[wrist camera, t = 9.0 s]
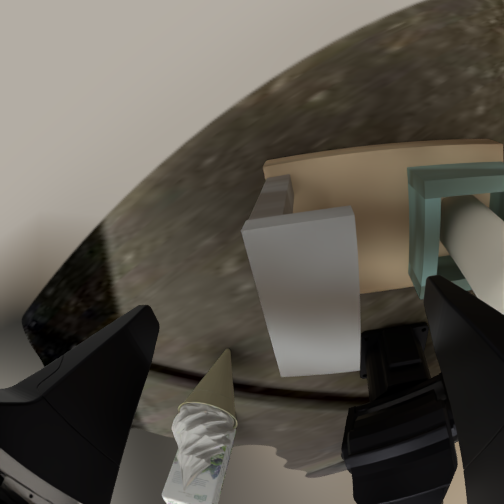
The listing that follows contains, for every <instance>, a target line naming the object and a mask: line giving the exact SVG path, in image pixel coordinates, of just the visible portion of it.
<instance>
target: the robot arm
mask: <svg viewBox="0 0 504 504" xmlns="http://www.w3.org/2000/svg"><path fill="white" fill-rule="evenodd" d="M424 307H425V311H426V315H427V319H428V323H429V327H430V332H431V336H432V341H433V345H434V349H435V353H436V356H437V359H438V362H439V365H440V369H441V373H439V375H437V376H435V377H433V378H431V376H430V372H429V369H428V365H427V362H426V359H425V356H424V349H425V345H426V340H427V335H428V330H429V327H428V325H427V323H420V324H414V325H409V326H403V327H396V328H390V329H383V330H376V331H369V332H364V333H362V335H361V354H360V377H361V378H363V379H365V378H367V380H368V389H369V398H370V402H369V403H366V404H363V405H360V406H357V407H356V406H354V407H351V408H349V411H348V416H347V420H346V426H345V432H344V437H343V443H342V453H341V457H342V459H343V460H344V461H345V464H346V467H347V469H348V471H349V472H350V473H351V474H352V479H353V497H354V500H355V501H356V503H357V504H443V499H444V497H445V495H446V493H447V490H448V488H449V486H450V484H451V481H452V479H453V476H454V474H455V471H456V469H457V465H458V464H457V454H456V449H455V444H454V443H456V442H458V441H459V446H460V451H461V457H462V462H463V469H465V470H464V478H465V486H466V496H467V504H504V315H503V314H502V313H500V312H499V311H497V310H496V309H494V308H493V307H491V306H490V305H488V304H487V303H485V302H483V301H482V300H480V299H479V298H477V297H476V296H474V295H472V294H471V293H469V292H468V291H466V290H464V289H463V288H461V287H459V286H458V285H456V284H454V283H453V282H451V281H449V280H448V279H446V278H444V277H443V276H441V275H432V276H428V277H427V279H426V284H425V293H424ZM158 333H159V322H158V320H157V318H156V316H155V314H154V312H153V310H152V308H151V307H150V306H149V305H139V306H137V307H135V308H134V309H132V310H131V311H129V312H127V313H126V314H124V315H123V316H121V317H120V318H118V319H117V320H115V321H114V322H112V323H111V324H109V325H108V326H106V327H105V328H103V329H102V330H100V331H99V332H97V333H96V334H94V335H93V336H91V337H90V338H88V339H87V340H85V341H84V342H82V343H81V344H79V345H78V346H76V347H75V348H73V349H72V350H70V351H69V352H67V353H66V354H65V355H63V356H61V357H60V358H58V359H57V360H55V361H54V362H52V363H50V364H49V365H47V366H46V367H44V368H43V369H41V370H40V371H38V372H36V373H35V374H33V375H31V376H29V377H28V378H26V379H24V380H23V381H21V382H19V383H18V384H16V385H14V386H12V387H9V388H5V389H0V504H79V503H82V504H110V502H111V498H112V494H113V490H114V486H115V482H116V479H117V475H118V471H119V468H120V463H121V460H122V456H123V453H124V449H125V446H126V442H127V439H128V435H129V432H130V429H131V425H132V422H133V419H134V416H135V412H136V409H137V406H138V403H139V400H140V397H141V393H142V390H143V387H144V384H145V381H146V378H147V375H148V372H149V369H150V366H151V362H152V358H153V354H154V350H155V345H156V341H157V337H158ZM365 337H367V338H365Z"/></svg>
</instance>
